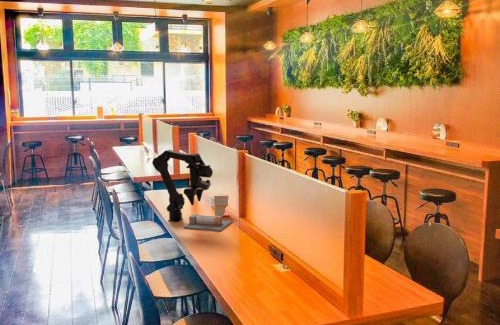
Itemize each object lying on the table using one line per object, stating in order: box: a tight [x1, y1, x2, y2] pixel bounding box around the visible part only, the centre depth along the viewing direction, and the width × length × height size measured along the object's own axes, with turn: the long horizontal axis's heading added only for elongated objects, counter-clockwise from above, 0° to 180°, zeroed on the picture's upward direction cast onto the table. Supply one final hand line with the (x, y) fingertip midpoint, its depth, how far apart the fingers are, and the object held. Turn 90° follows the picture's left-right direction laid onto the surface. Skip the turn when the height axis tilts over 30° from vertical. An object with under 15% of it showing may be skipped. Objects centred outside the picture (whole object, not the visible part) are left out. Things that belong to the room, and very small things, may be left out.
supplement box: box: [213, 193, 229, 216], centre depth 297 cm, size 8×5×13 cm, turn 84°
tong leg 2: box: [197, 214, 223, 224], centre depth 280 cm, size 14×1×4 cm, turn 71°
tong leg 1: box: [196, 216, 220, 225], centre depth 277 cm, size 14×1×4 cm, turn 72°
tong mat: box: [183, 213, 233, 233], centre depth 279 cm, size 22×19×5 cm
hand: (196, 203), depth 281 cm, fingers open, 9 cm apart
